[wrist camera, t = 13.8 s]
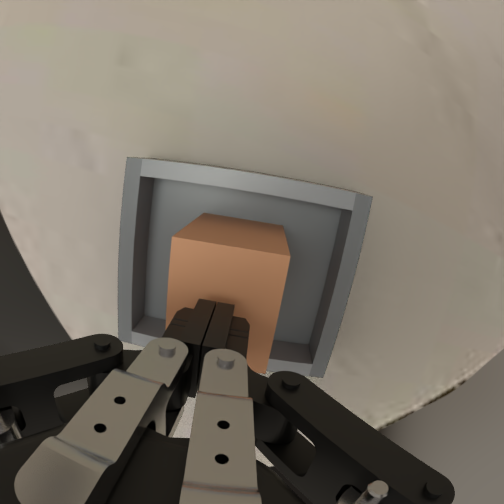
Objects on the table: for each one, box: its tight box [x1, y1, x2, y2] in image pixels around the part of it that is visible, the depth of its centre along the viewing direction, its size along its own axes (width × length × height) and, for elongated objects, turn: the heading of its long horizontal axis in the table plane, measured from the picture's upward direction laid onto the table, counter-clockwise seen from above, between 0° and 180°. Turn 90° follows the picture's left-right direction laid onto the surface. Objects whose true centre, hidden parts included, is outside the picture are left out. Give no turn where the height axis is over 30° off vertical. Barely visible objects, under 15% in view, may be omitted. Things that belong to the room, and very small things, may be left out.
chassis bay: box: [118, 157, 373, 378], centre depth 20 cm, size 14×12×4 cm
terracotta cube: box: [165, 213, 290, 374], centre depth 17 cm, size 5×6×7 cm
